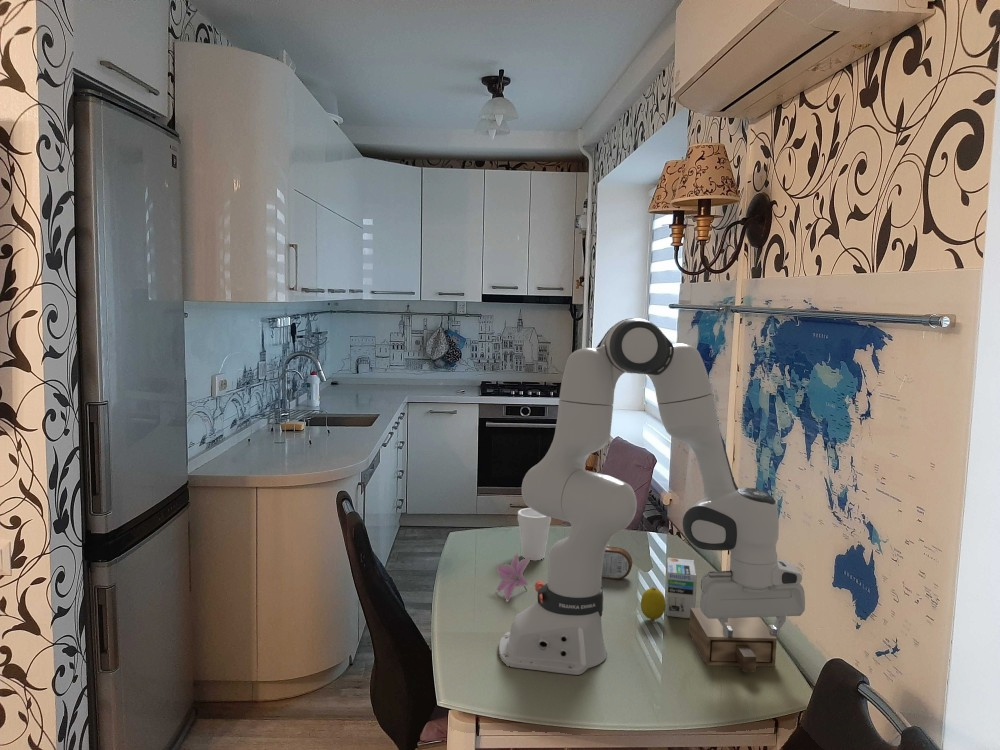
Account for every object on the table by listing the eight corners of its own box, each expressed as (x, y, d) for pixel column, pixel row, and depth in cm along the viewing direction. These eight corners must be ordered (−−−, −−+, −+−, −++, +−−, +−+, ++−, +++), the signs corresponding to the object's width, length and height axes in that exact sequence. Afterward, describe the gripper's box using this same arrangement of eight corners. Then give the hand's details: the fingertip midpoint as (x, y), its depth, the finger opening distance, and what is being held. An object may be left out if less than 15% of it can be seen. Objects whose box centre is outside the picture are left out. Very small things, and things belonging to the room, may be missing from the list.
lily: (497, 585, 190) (484, 559, 186) (539, 569, 190) (527, 542, 186) (503, 618, 180) (489, 591, 175) (547, 601, 179) (535, 573, 175)
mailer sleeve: (706, 664, 149) (707, 636, 148) (689, 633, 163) (690, 607, 162) (775, 666, 149) (776, 638, 148) (751, 634, 163) (753, 608, 162)
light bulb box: (695, 619, 170) (697, 575, 169) (665, 616, 171) (667, 572, 170) (692, 601, 181) (695, 559, 179) (665, 598, 182) (666, 556, 181)
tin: (631, 578, 195) (632, 547, 194) (631, 582, 192) (632, 551, 191) (575, 572, 198) (576, 542, 197) (573, 576, 195) (574, 545, 194)
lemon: (662, 627, 166) (664, 593, 165) (638, 623, 167) (639, 590, 167) (666, 618, 171) (667, 585, 170) (642, 614, 173) (643, 581, 172)
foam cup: (510, 557, 208) (511, 513, 206) (528, 548, 215) (529, 505, 214) (538, 565, 202) (540, 519, 201) (555, 555, 210) (557, 511, 209)
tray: (718, 673, 144) (719, 654, 144) (694, 631, 162) (695, 614, 162) (779, 674, 144) (780, 655, 144) (749, 632, 162) (750, 615, 161)
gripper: (706, 578, 141) (704, 645, 143) (810, 575, 142) (807, 642, 144) (696, 565, 148) (694, 629, 150) (796, 562, 148) (793, 626, 150)
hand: (750, 635), depth 147 cm, fingers open, 8 cm apart
